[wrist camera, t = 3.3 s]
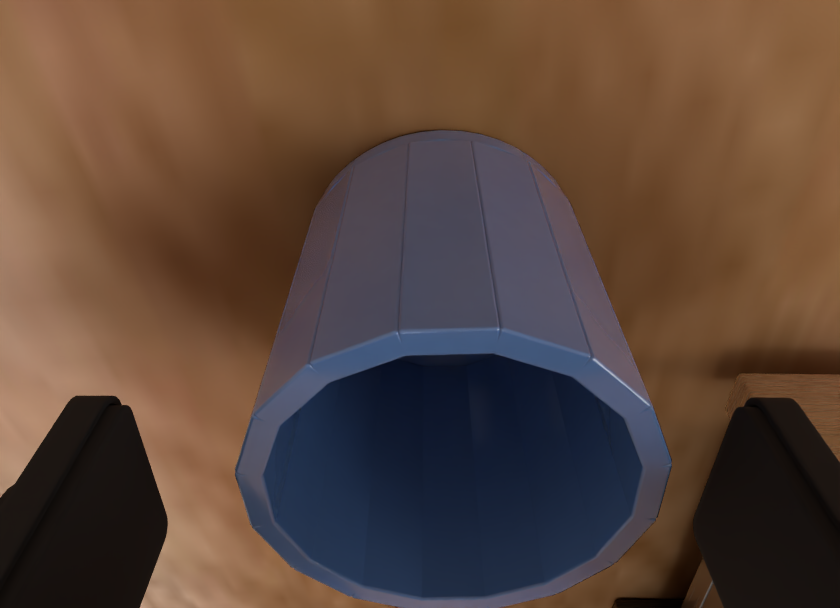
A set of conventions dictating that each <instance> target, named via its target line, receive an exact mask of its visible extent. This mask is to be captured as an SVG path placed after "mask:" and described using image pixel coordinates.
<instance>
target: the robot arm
mask: <svg viewBox="0 0 840 608" xmlns="http://www.w3.org/2000/svg"><path fill="white" fill-rule="evenodd" d="M167 526H168V521H167V514H166V511H165V508H164V505H163V502H162V499H161V496H160V493H159V490H158V487H157V484H156V481H155V478H154V475H153V472H152V469H151V466H150V463H149V460H148V457H147V454H146V451H145V448H144V445H143V442H142V439H141V436H140V433H139V430H138V427H137V424H136V421H135V418H134V415H133V412H132V410H131V408H130V407H129V406H127V405H122V404H121V402H120V400H119V399H118V398H117V397H116V396H75V397H73V398H72V399H71V400H70V401H69V402H68V403H67V405H66V406H65V408H64V409H63V411H62V413H61V414H60V416H59V417H58V419H57V420H56V422H55V423H54V425H53V426H52V428H51V429H50V431H49V432H48V434H47V436H46V437H45V439H44V440H43V442H42V443H41V445H40V446H39V448H38V449H37V451H36V452H35V454H34V455H33V457H32V459H31V460H30V462H29V463H28V465H27V466H26V468H25V469H24V471H23V472H22V474H21V475H20V477H19V478H18V480H17V482H16V483H15V484H14V485H13V486H11V487H10V488H8V489H7V490H6V492H5V493H4V494H3V495H2V496H1V498H0V608H140V605H141V602H142V600H143V597H144V594H145V592H146V589H147V586H148V584H149V581H150V578H151V576H152V573H153V570H154V568H155V565H156V562H157V560H158V557H159V554H160V552H161V549H162V546H163V544H164V541H165V538H166V534H167ZM693 530H694V536H695V539H696V542H697V544H698V547H699V549H700V551H701V554H702V556H703V559H704V561H705V564H706V566H707V568H708V571H709V573H710V576H711V578H712V580H713V583H714V585H715V588H716V590H717V593H718V595H719V597H720V600H721V602H722V605H723V607H724V608H840V462H839V461H838V459H837V458H836V456H835V455H834V453H833V452H832V451H831V449H830V448H829V446H828V445H827V444H826V442H825V441H824V439H823V438H822V437H821V435H820V434H819V432H818V431H817V430H816V428H815V427H814V425H813V424H812V422H811V421H810V420H809V418H808V417H807V415H806V414H805V413H804V411H803V410H802V408H801V407H800V406H799V404H798V403H797V402H796V401H795V400H793V399H791V398H761V397H755V398H750V399H748V400H747V401H746V403H745V405H744V407H738V408H736V409H735V411H734V413H733V415H732V418H731V420H730V423H729V426H728V428H727V431H726V434H725V436H724V439H723V441H722V444H721V447H720V449H719V452H718V455H717V457H716V460H715V462H714V465H713V468H712V470H711V473H710V476H709V478H708V481H707V483H706V486H705V489H704V491H703V494H702V497H701V499H700V502H699V504H698V507H697V510H696V512H695V515H694V519H693Z"/></svg>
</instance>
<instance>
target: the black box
mask: <svg viewBox="0 0 840 608" xmlns="http://www.w3.org/2000/svg"><path fill="white" fill-rule="evenodd" d="M683 602H684V600H619V599H617V600H616V601H615V604H614V607H613V608H681V606H682V604H683Z"/></svg>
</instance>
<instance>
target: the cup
mask: <svg viewBox="0 0 840 608" xmlns="http://www.w3.org/2000/svg"><path fill="white" fill-rule="evenodd" d="M671 462H672V459H671V456H670V453H669V451H668V448H667V445H666V442H665V439H664V436H663V433H662V430H661V428H660V425H659V422H658V419H657V416H656V413H655V410H654V407H653V405H652V402H651V400H650V397H649V395H648V393H647V390H646V388H645V385H644V383H643V380H642V378H641V375H640V373H639V370H638V368H637V366H636V363H635V361H634V358H633V356H632V353H631V351H630V348H629V346H628V343H627V341H626V339H625V336H624V334H623V331H622V329H621V326H620V324H619V321H618V319H617V317H616V314H615V312H614V309H613V307H612V304H611V302H610V299H609V297H608V294H607V292H606V290H605V287H604V285H603V282H602V280H601V277H600V275H599V272H598V270H597V267H596V265H595V263H594V260H593V258H592V255H591V253H590V250H589V248H588V245H587V243H586V241H585V238H584V236H583V233H582V231H581V228H580V226H579V223H578V221H577V218H576V216H575V214H574V211H573V209H572V206H571V204H570V201H569V200H568V199H567V197H566V196H565V194H564V193H563V191H562V190H561V188H560V186H559V185H558V183H557V182H556V181H555V180H554V178H553V177H552V176H551V175H550V174H549V173H548V172H547V171H546V169H545V168H544V167H542V166H541V165H540V164H539V163H538V162H536V161H535V160H534V159H533V158H532V157H530V156H529V155H527V154H525V153H524V152H522V151H521V150H519V149H517V148H516V147H514V146H511V145H509V144H507V143H505V142H503V141H500V140H498V139H495V138H491V137H488V136H485V135H481V134H477V133H471V132H464V131H451V130H436V131H426V132H418V133H414V134H409V135H405V136H401V137H398V138H395V139H392V140H390V141H387V142H384V143H382V144H380V145H378V146H376V147H374V148H372V149H370V150H368V151H366V152H365V153H363V154H362V155H360V156H359V157H358V158H356V159H355V160H353V161H352V162H351V163H349V164H348V165H347V166H346V167H345V168H344V169H343V170H342V171H341V172H340V173H339V174H338V175H337V176H336V177H335V178H334V180H333V181H332V182H331V183H330V185H329V186H328V187H327V189H326V190H325V192H324V194H323V195H322V197H321V199H320V200H319V202H318V204H317V206H316V208H315V210H314V213H313V216H312V219H311V223H310V226H309V229H308V232H307V236H306V239H305V242H304V245H303V248H302V252H301V255H300V258H299V261H298V265H297V268H296V271H295V274H294V278H293V281H292V284H291V287H290V291H289V294H288V297H287V300H286V304H285V307H284V310H283V313H282V317H281V320H280V323H279V326H278V330H277V333H276V336H275V339H274V343H273V346H272V349H271V352H270V356H269V359H268V362H267V365H266V369H265V372H264V375H263V378H262V381H261V385H260V388H259V391H258V394H257V398H256V401H255V404H254V407H253V411H252V414H251V417H250V420H249V424H248V427H247V430H246V434H245V437H244V440H243V444H242V447H241V450H240V453H239V457H238V460H237V463H236V467H235V476H236V480H237V483H238V486H239V489H240V493H241V496H242V499H243V502H244V506H245V509H246V512H247V515H248V519H249V522H250V525H252V528H253V529H254V530H255V531H256V532H257V533H258V534H259V535H260V536H261V537H262V538H263V539H264V540H265V541H266V542H267V543H268V544H269V545H270V546H271V547H272V548H273V549H274V550H275V551H276V552H277V553H278V554H279V555H280V557H281V558H282V559H283V560H284V561H285V562H286V563H287V564H288V565H289V566H290V567H292V568H294V569H295V570H296V571H298V572H300V573H302V574H304V575H306V576H308V577H310V578H312V579H314V580H316V581H318V582H320V583H322V584H325V585H327V586H329V587H331V588H333V589H335V590H337V591H339V592H341V593H343V594H345V595H347V596H350V597H351V596H352V597H353V598H356V599H361V600H365V601H370V602H375V603H380V604H385V605H390V606H395V607H399V608H501V607H506V606H510V605H514V604H518V603H523V602H527V601H531V600H535V599H540V598H544V597H548V596H552V595H555V594H556V593H560V592H562V591H564V590H566V589H568V588H570V587H572V586H574V585H576V584H578V583H580V582H581V581H583V580H585V579H587V578H589V577H591V576H593V575H595V574H597V573H599V572H600V571H602V570H604V569H606V568H608V567H610V566H612V565H613V564H614V563H616V562H617V561H618V560H619V559H620V558H621V557H622V556H623V555H624V554H625V553H626V552H627V551H628V550H629V549H630V548H631V546H632V545H633V544H634V543H635V542H636V541H637V540H638V539H639V538H640V537H641V536H642V535H643V534H644V533H645V532H646V530H647V529H648V528H649V527H650V526H651V525H652V524H653V523H654V522H655V521H656V518H657V517H658V514H659V510H660V507H661V503H662V500H663V496H664V492H665V489H666V485H667V482H668V478H669V474H670V471H671V467H672V464H671Z"/></svg>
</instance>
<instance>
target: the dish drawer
mask: <svg viewBox="0 0 840 608" xmlns="http://www.w3.org/2000/svg"><path fill="white" fill-rule="evenodd" d="M755 397H761V398H791V399H793V400H795V401H796V402H797V403H798V404H799V406H800V407H801V408H802V410H803V411H804V413H805V414H806V415H807V417H808V418H809V420H810V421H811V422H812V424H813V425H814V427H815V428H816V430H817V431H818V432H819V434H820V435H821V437H822V438H823V439H824V441H825V442H826V444H827V445H828V446H829V448H830V449H831V451H832V452H833V453H834V455H835V456H836V458H837V459H838V461H839V462H840V374H755V373H740V374H738V376H737V379H736V381H735V384H734V386H733V389H732V392H731V394H730V397H729V399H728V402H727V405H726V407H725V411H726V413H727V415H728V416H729V418H730V420H731V418H732V415H733V413H734V411H735V409H736V408H738V407H744V405H745V403H746V401H747V400H748V399H750V398H755ZM681 608H724V607H723V605H722V602H721V600H720V597H719V595H718V593H717V590H716V588H715V585H714V583H713V580H712V578H711V576H710V573H709V571H708V568H707V566H706V564H705V561H704V559H702V561H701V563H700V565H699V568H698V570H697V572H696V574H695V577H694V579H693V581H692V583H691V586H690V588H689V590H688V593H687V595H686V597H685V599H684V602H683V604H682V606H681Z"/></svg>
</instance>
